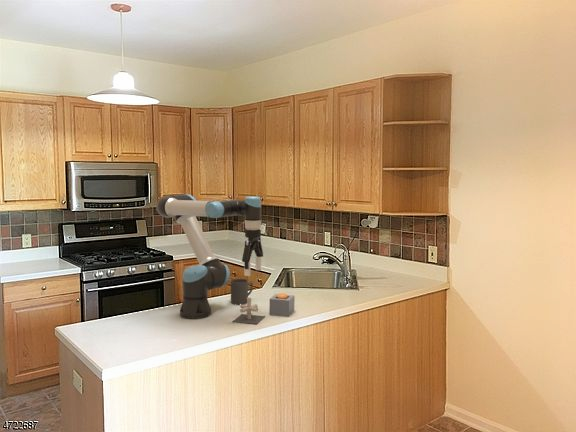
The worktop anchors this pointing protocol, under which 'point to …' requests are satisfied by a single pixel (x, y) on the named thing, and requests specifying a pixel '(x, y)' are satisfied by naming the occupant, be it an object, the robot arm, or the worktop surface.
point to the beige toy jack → (248, 308)
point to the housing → (282, 305)
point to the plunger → (281, 296)
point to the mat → (243, 319)
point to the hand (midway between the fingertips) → (252, 272)
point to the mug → (240, 291)
